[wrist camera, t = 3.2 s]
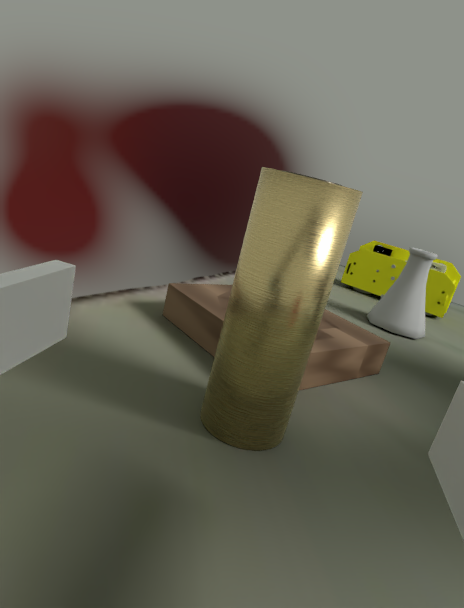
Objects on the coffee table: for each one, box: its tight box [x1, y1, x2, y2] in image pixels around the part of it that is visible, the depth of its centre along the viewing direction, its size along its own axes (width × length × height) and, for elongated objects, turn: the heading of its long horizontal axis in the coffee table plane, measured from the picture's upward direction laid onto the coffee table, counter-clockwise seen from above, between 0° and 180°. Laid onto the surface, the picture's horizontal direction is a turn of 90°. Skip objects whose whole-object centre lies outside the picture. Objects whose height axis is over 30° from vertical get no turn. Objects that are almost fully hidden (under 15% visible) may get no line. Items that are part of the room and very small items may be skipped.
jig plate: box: [163, 283, 390, 390], centre depth 37 cm, size 14×14×3 cm
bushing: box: [200, 167, 363, 450], centre depth 23 cm, size 5×5×14 cm
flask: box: [367, 248, 437, 339], centre depth 51 cm, size 7×7×10 cm
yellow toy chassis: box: [341, 241, 461, 318], centre depth 67 cm, size 16×6×8 cm, turn 56°
